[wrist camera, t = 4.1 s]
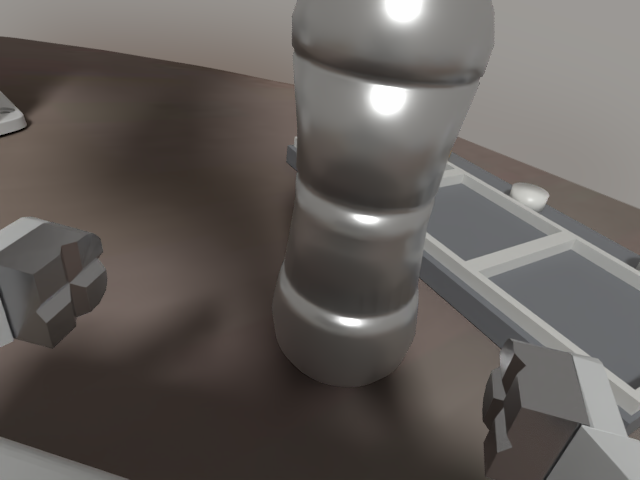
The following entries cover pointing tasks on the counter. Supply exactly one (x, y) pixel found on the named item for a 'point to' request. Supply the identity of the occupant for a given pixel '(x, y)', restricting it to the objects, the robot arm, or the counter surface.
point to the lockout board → (533, 274)
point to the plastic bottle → (370, 172)
